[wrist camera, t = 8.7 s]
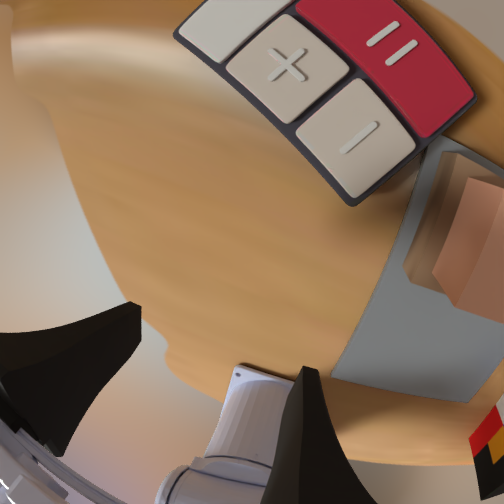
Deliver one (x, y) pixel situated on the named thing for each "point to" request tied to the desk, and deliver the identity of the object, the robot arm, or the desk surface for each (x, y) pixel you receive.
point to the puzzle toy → (490, 452)
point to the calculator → (335, 80)
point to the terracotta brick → (475, 253)
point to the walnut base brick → (441, 215)
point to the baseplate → (421, 318)
